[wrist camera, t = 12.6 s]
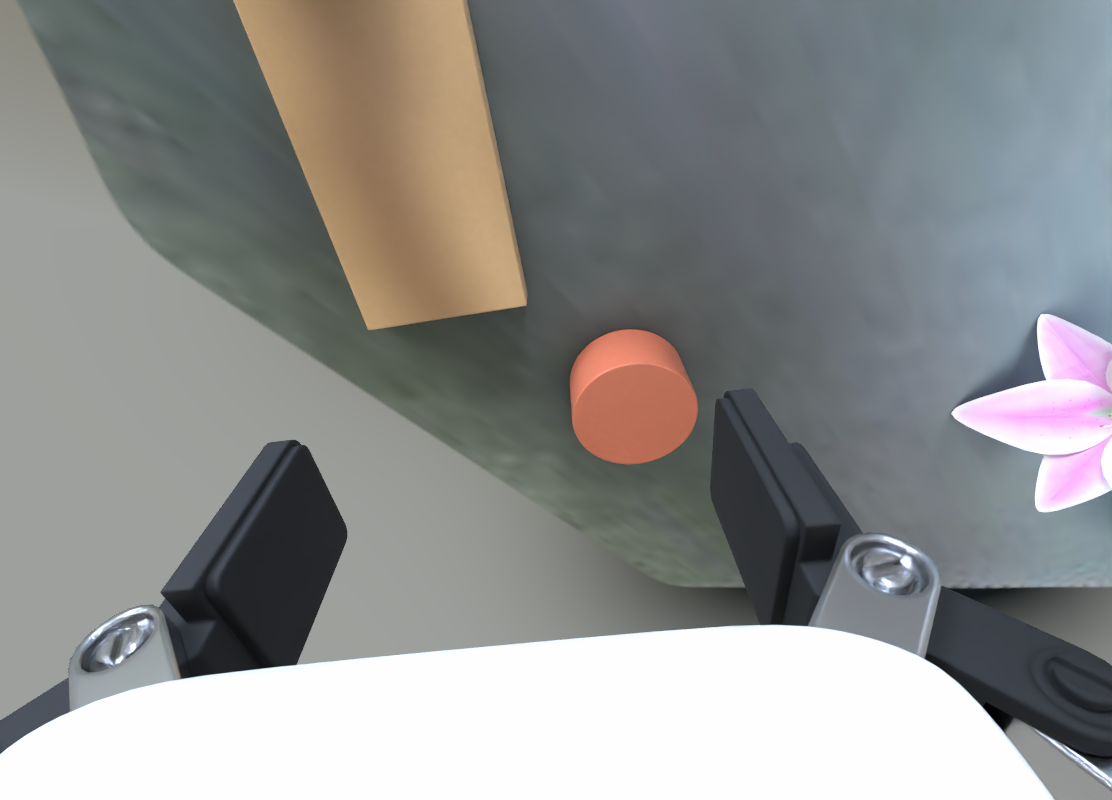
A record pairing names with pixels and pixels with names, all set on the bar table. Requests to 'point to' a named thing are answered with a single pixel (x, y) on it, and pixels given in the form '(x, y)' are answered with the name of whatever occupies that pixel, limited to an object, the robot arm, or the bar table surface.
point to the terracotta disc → (631, 397)
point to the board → (395, 150)
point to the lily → (1058, 415)
